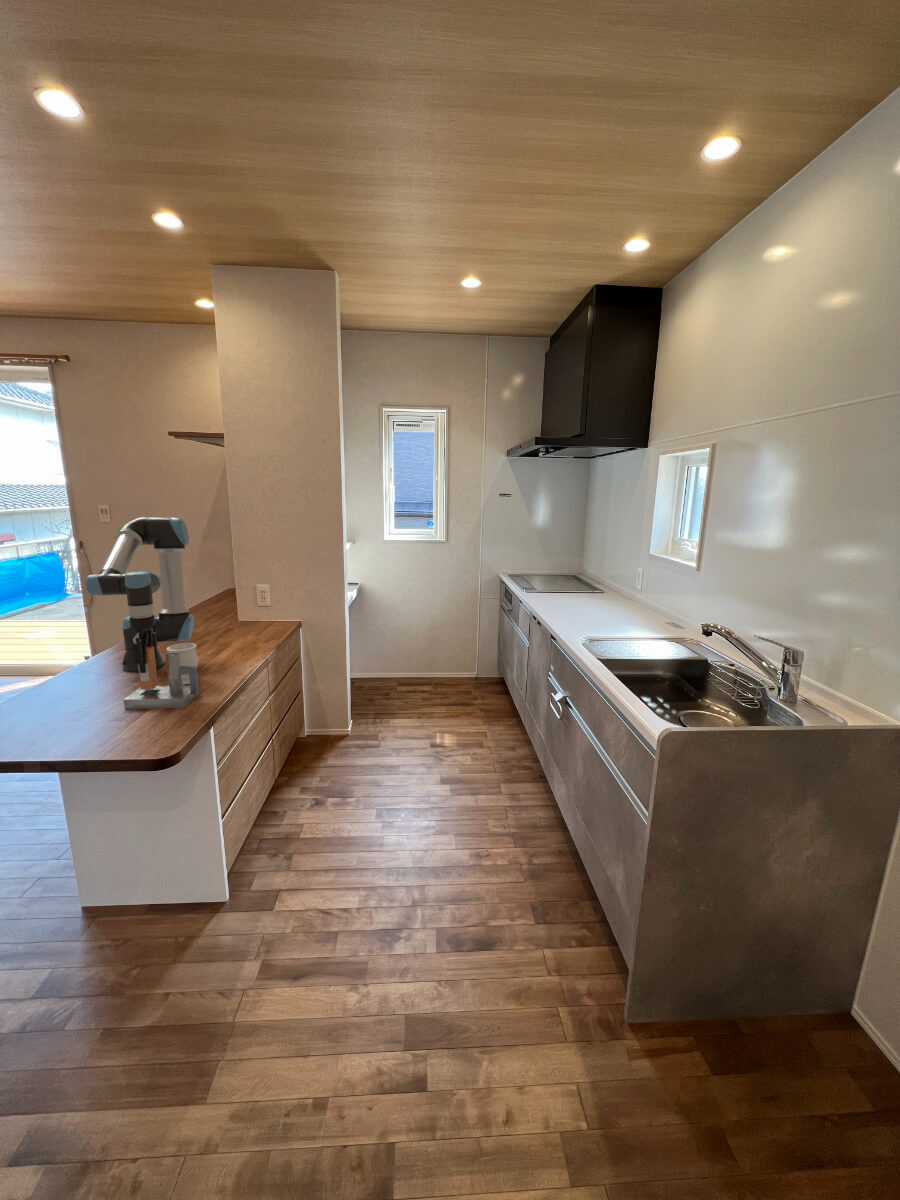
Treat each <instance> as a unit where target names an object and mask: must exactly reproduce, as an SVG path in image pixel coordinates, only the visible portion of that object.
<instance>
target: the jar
mask: <svg viewBox="0 0 900 1200" xmlns="http://www.w3.org/2000/svg"><path fill="white" fill-rule="evenodd" d="M196 649H197V644H196V643H192V642H183V643H182V642H180V643H175V644H171V645H169V646H167V647H166V651H167V652H168V653H167V654H169V653H179V654H180V663H181V666H197V667H198V663H199V660H198V658H199V656H198V653H197V650H196ZM182 684H183V686H187V685H190V679H189V674H187V675H182Z"/></svg>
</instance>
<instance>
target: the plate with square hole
mask: <svg viewBox="0 0 900 1200" xmlns="http://www.w3.org/2000/svg"><path fill="white" fill-rule="evenodd" d="M168 653H169V652H168ZM168 653H167V654H165V661H166V663H165V664H166V672H167V682H168V685H158V686H156V687H155V688H154V689H152V690H141V687H140V686H139V688H137V689H136V690H134V691H133V692H132V693H131V694H128V696H126V697H125V698H124V699H123V705H124V709H125V710H127V709H128V710H131V709H133V710H134V709H137V710H138V709H143V710H144V709H178V708H179V709H183V708H184V709H185V708H186V707H187V706H188V705H189V704H190V703H191V701H193V700H194V699H195V697H197V695H199V692H200V687H199V674H198V665H197V666H181V663H180V654H179V653H169V654H168ZM187 674H189V679H190V684H189V685H183V684H182V675H187Z"/></svg>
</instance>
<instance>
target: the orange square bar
mask: <svg viewBox="0 0 900 1200" xmlns="http://www.w3.org/2000/svg"><path fill="white" fill-rule="evenodd" d="M146 663H148V668H149V677H150V680H149V681H141V679H140V670H139V671H138V676H139V684H140V686H139V688H140V687H141V690H152V689H154V688H155V687H156V686H159V682H158V672H157V668H156V661H155V652H154V646H152V647H146ZM138 669H139V664H138Z"/></svg>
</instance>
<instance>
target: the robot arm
mask: <svg viewBox="0 0 900 1200" xmlns="http://www.w3.org/2000/svg"><path fill="white" fill-rule="evenodd" d="M189 539H190V538H189V532H188V528H187V525H186V522H185V521H184V520H183V519H182V518H181V517H180V518H179V517H160V516H159V517H156V516H155V517H151V516H149V517H148V516H141V517H138V518H135V519H134V518H133V519H132V520H130V521H128V522H126V523H125V524H123V525H122V526H121V527H120V528H119V529H118V530H117V532H116V534H115V536H114V541H115V542H114V544H113V546H112V548H111V550H110V552H109V554H108V555H107V558H106V559H105V561H104V563H103V565H102V567H101V569H100V571H99V572H98V574H97V573H95V574H90V575H87V577H86V579H85V587H86V591H87V593H88V594H89V595H91V596H102V597H103V596H119V595H120V596H121V595H124V596H126V600H127V601H126V602H127V610H128V615H127V616H126V617H124V619H122V624H121V625H122V629H121V630H122V635H123V641H124V642H123V643H124V649H125V652H124V655H123V659H122V663H121V667H122V668H121V669H122V671H123V670H124V671H126V672H135V673H136V672H139V670H140V678H139V680H140V679H141V681H149V680H150V677H149V668H148V663H146V647H152V646H154V652H155V661H156V669H157V668H159V667H161V666H163V665H164V659H163V656H162V654H161V652H160V650H159V648H158V643H169V642H171V643H173V642H186V641H189V640H190V639H191V638H192V636H193V632H194V626H195V617H194V614H190V609H188V608H187V607H186V605H185V590H184V589H185V588H184V575H183V559H182V558H183V557H182V553H183V552H184V551H185V549H186V546H187V545H189V543H190V541H189ZM144 545H145V546H146V545H148V546H153V550H154V551H156V552H157V553H158V563H159V564H158V565H159V575H158V574H156V573H155V572H153V571H152V572H150V571H131V572H127V571H128V569H129V567H130V565H131V562H132V560H133V558H134V556H135V554H136V551H137V550H139V549H140V548H141V547H142V546H144ZM159 589H160V591H161V592H160V594H161V607H162V608H161V609H160V610H159V611H158V615H155V608H154V607H155V606H154V600H153V594H154V593H156V592H157V591H158V590H159ZM138 664H139V669H138Z"/></svg>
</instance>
